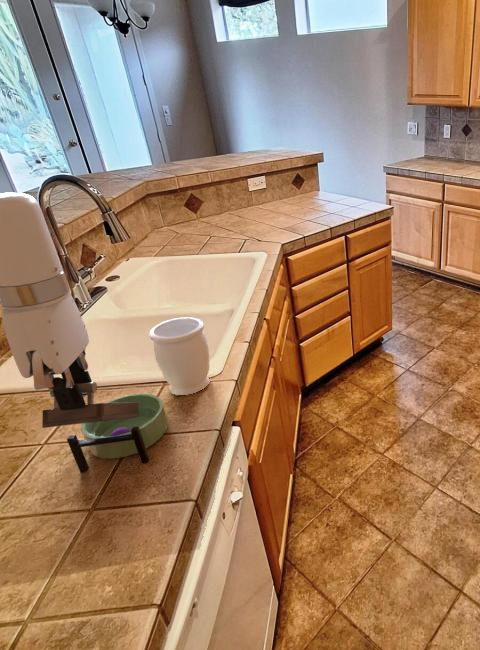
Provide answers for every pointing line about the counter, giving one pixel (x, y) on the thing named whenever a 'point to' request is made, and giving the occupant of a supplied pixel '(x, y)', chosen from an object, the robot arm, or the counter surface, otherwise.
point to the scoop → (88, 410)
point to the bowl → (129, 427)
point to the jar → (182, 354)
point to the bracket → (77, 445)
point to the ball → (120, 431)
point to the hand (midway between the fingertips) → (78, 400)
